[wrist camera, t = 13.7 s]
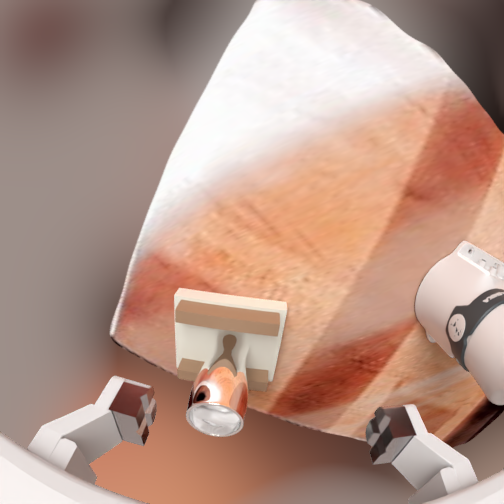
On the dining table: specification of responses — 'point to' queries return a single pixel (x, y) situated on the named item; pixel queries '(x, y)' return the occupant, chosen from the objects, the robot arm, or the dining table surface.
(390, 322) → the dining table surface
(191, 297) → the stand
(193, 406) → the beer glass
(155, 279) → the dining table surface
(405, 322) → the dining table surface
